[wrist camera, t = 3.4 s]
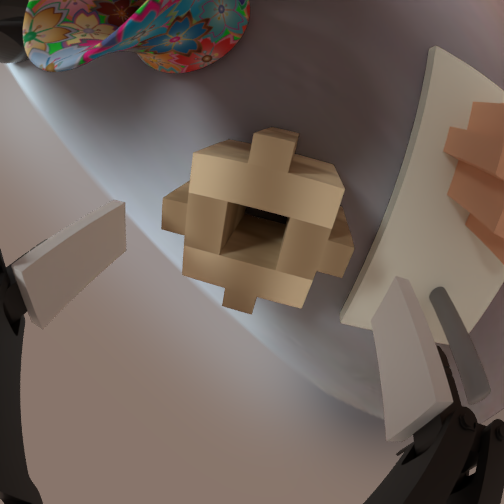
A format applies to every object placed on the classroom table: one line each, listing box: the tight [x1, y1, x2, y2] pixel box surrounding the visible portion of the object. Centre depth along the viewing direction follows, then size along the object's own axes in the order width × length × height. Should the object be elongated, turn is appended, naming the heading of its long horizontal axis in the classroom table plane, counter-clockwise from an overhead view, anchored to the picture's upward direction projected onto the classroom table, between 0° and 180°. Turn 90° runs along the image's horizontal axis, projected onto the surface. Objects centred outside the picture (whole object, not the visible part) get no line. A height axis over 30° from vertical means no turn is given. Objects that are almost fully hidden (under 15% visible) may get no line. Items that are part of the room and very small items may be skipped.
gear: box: [161, 127, 355, 314], centre depth 16 cm, size 10×10×6 cm
